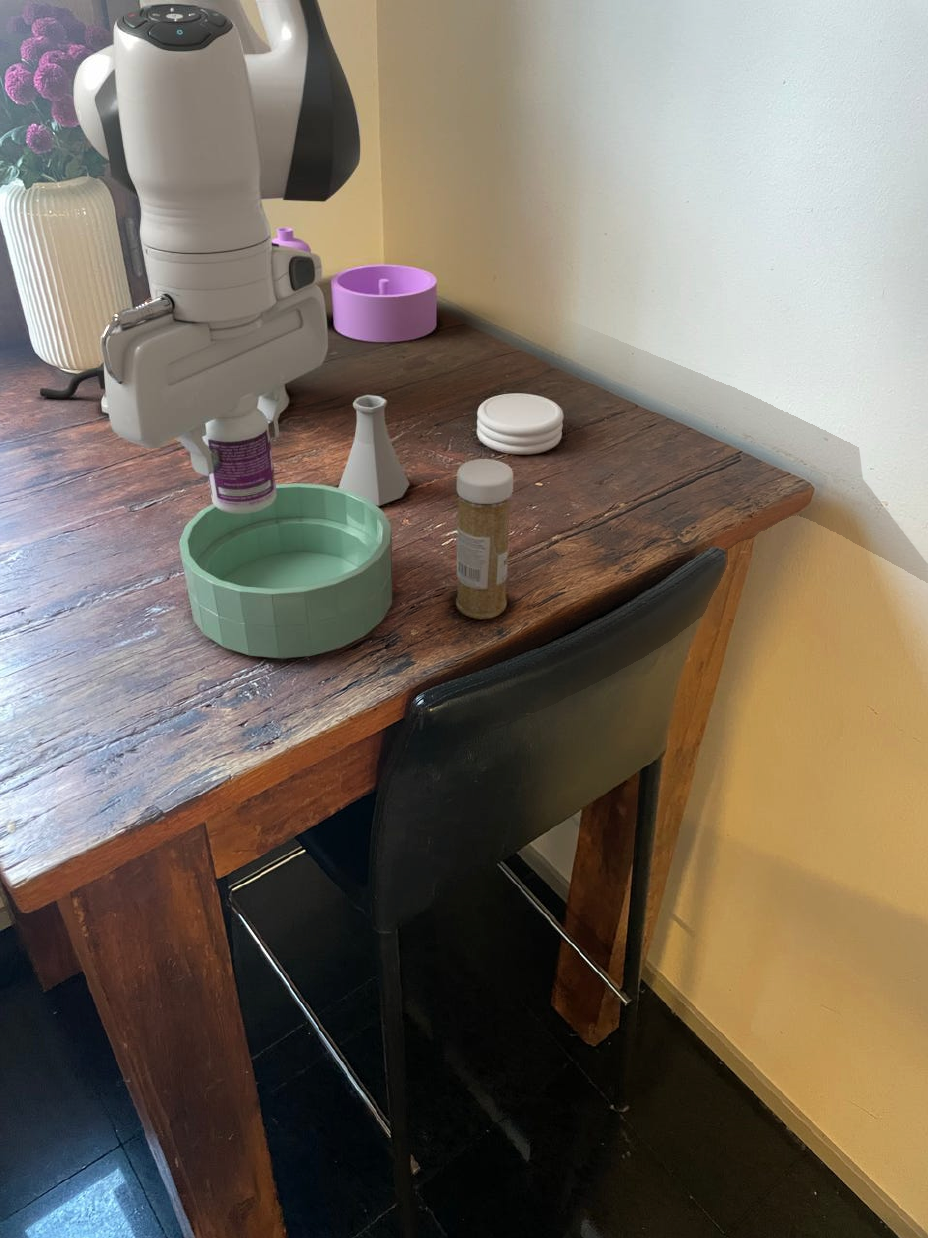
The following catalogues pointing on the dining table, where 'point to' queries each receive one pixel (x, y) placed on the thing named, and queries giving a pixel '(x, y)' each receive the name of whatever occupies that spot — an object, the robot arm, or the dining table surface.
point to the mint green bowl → (290, 572)
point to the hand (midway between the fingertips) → (238, 454)
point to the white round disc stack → (519, 423)
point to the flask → (373, 456)
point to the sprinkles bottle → (483, 537)
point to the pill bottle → (242, 459)
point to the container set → (378, 299)
